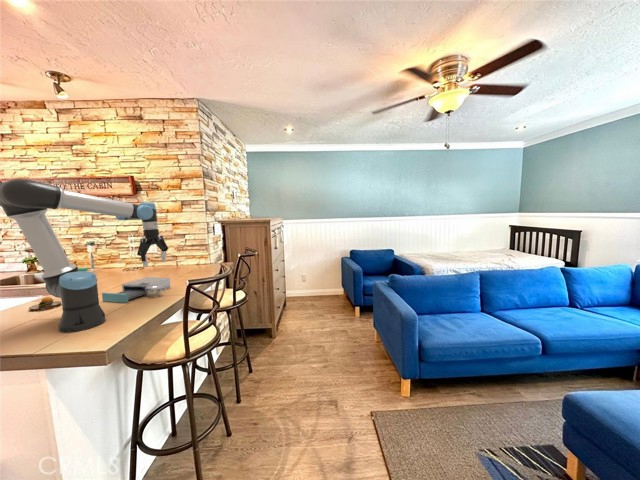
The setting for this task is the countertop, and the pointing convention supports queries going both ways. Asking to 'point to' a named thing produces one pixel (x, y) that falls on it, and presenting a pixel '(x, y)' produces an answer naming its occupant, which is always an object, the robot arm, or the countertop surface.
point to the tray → (123, 295)
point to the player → (146, 284)
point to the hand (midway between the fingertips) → (155, 264)
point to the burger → (45, 304)
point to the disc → (154, 287)
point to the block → (154, 293)
